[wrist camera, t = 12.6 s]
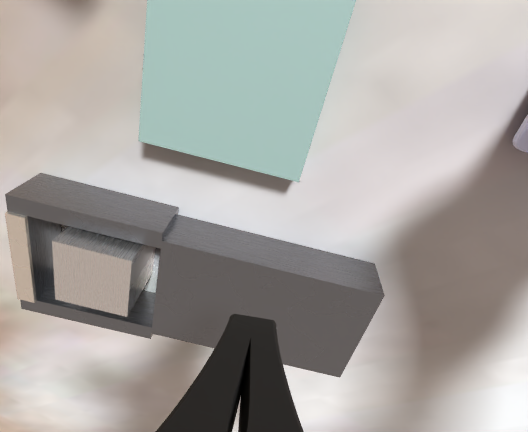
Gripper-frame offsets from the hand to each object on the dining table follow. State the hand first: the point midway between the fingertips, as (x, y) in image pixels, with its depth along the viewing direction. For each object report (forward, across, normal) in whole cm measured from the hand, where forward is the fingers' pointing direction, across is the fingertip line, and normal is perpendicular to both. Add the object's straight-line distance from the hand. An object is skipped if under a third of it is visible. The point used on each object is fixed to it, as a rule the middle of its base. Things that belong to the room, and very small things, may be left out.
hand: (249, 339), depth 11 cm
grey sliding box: (+10, 0, +6) cm, 12 cm away
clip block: (+8, +7, +5) cm, 11 cm away
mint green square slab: (+10, +2, -6) cm, 12 cm away
